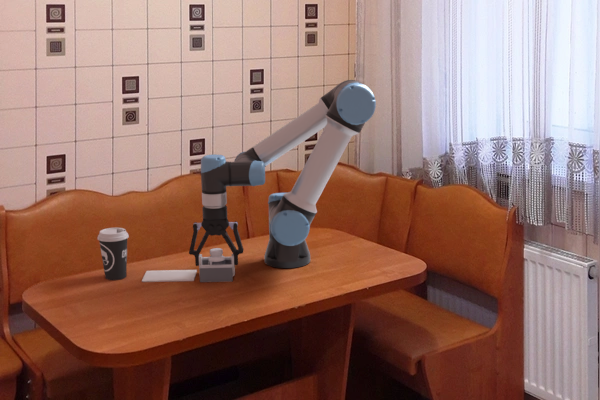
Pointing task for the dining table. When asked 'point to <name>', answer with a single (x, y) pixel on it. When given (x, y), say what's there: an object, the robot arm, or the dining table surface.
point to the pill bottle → (216, 257)
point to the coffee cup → (114, 252)
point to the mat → (169, 275)
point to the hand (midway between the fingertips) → (217, 275)
